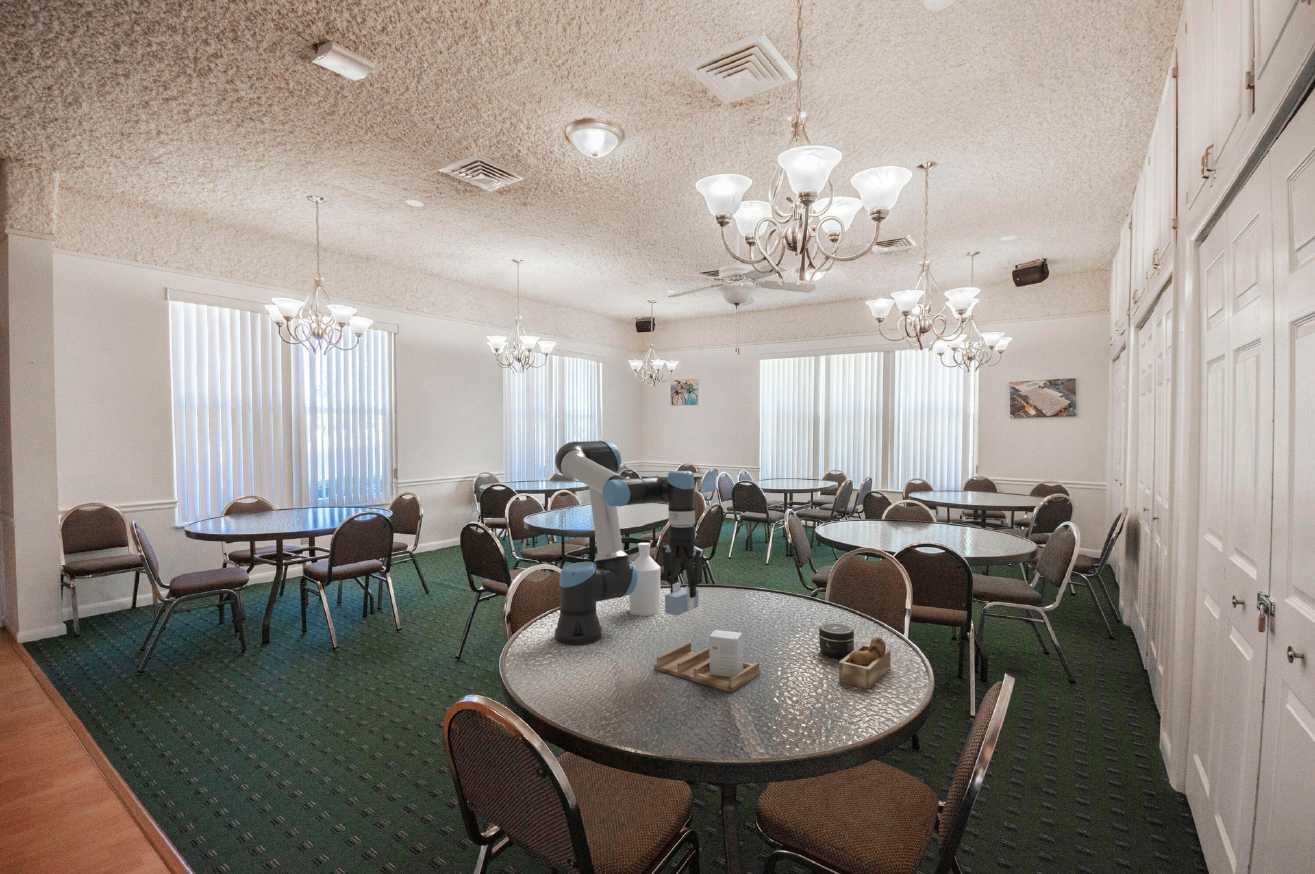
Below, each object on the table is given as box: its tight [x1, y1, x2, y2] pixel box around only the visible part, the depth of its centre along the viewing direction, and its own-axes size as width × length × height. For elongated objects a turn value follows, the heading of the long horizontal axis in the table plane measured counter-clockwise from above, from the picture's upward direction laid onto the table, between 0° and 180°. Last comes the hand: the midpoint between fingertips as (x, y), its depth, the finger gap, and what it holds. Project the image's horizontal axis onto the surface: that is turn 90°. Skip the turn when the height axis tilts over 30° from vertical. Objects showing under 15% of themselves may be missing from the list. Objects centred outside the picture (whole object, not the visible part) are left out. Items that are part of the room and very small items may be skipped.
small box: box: [708, 629, 744, 678], centre depth 159 cm, size 8×6×10 cm
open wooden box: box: [838, 643, 892, 690], centre depth 159 cm, size 8×17×5 cm, turn 142°
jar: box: [818, 622, 855, 660], centre depth 175 cm, size 10×10×8 cm
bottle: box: [628, 542, 661, 617], centre depth 219 cm, size 12×12×25 cm
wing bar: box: [664, 587, 699, 616], centre depth 168 cm, size 4×11×5 cm, turn 144°
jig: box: [654, 641, 761, 693], centre depth 163 cm, size 25×15×4 cm, turn 52°
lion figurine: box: [848, 636, 887, 667], centre depth 159 cm, size 15×5×9 cm, turn 122°
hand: (683, 607), depth 168 cm, fingers closed on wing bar, 4 cm apart
